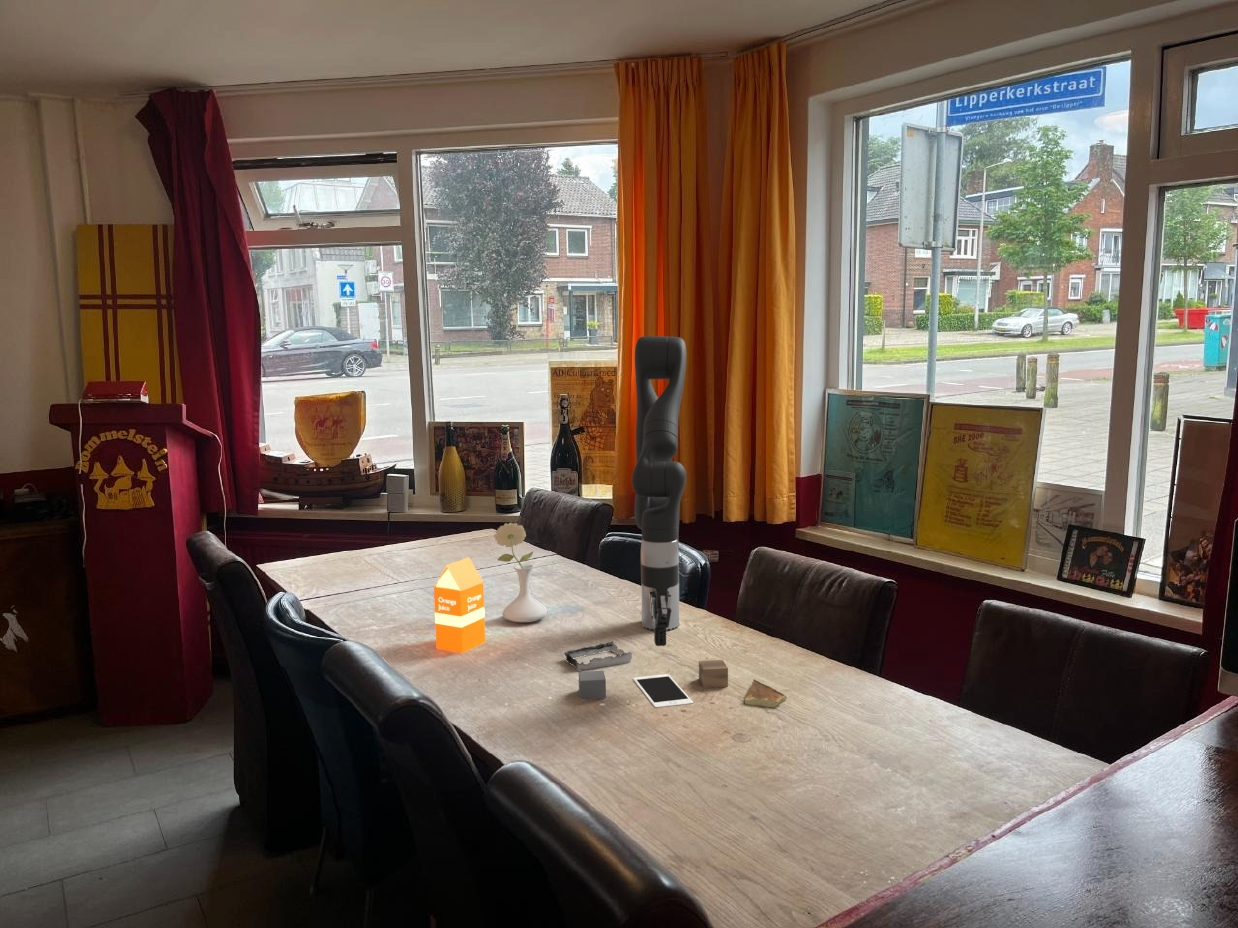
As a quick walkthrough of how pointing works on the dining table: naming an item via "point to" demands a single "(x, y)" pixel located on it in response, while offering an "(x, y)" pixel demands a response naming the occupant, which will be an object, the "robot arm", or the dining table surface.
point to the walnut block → (713, 673)
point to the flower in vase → (524, 604)
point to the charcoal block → (592, 685)
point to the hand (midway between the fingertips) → (660, 644)
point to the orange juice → (459, 608)
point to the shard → (763, 695)
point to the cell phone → (662, 691)
